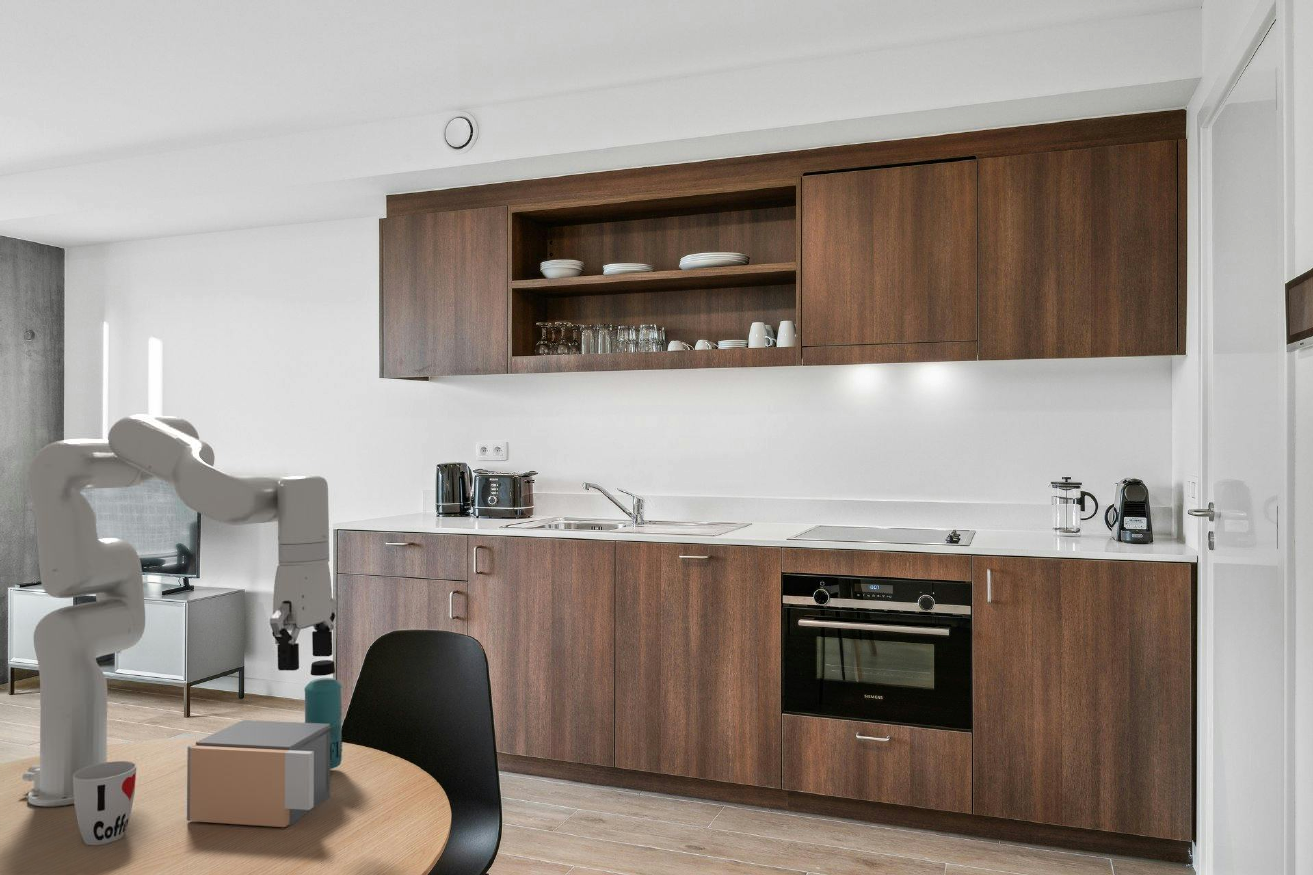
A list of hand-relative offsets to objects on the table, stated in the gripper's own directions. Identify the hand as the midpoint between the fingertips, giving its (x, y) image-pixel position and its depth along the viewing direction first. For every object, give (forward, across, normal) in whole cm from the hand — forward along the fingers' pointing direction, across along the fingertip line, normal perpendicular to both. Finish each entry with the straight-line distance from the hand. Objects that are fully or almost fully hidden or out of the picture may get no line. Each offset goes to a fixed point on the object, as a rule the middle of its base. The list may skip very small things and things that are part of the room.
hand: (306, 662), depth 139 cm
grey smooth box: (+24, -3, -10) cm, 26 cm away
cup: (+24, +11, -26) cm, 37 cm away
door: (+24, +4, -8) cm, 25 cm away
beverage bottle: (+24, -19, -8) cm, 32 cm away
